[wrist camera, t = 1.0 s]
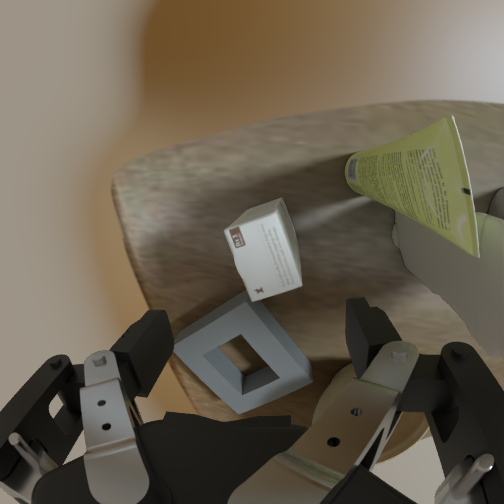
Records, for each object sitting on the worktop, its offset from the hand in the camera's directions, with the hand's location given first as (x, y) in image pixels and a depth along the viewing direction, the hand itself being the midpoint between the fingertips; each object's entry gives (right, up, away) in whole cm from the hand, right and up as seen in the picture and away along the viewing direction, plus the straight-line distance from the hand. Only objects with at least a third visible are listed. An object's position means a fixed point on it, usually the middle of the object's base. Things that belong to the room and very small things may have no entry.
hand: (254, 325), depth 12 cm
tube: (+12, +12, +17) cm, 24 cm away
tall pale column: (+18, +5, +18) cm, 26 cm away
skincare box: (+2, +6, +20) cm, 21 cm away
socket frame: (-1, -10, +25) cm, 27 cm away
